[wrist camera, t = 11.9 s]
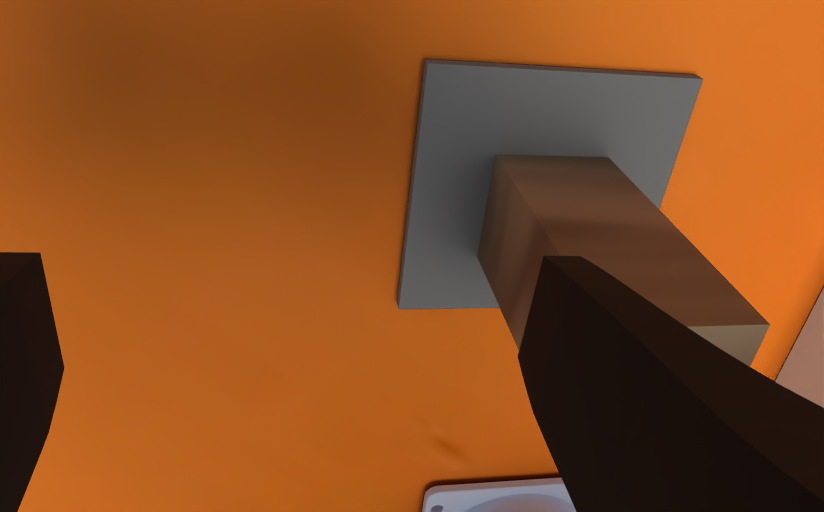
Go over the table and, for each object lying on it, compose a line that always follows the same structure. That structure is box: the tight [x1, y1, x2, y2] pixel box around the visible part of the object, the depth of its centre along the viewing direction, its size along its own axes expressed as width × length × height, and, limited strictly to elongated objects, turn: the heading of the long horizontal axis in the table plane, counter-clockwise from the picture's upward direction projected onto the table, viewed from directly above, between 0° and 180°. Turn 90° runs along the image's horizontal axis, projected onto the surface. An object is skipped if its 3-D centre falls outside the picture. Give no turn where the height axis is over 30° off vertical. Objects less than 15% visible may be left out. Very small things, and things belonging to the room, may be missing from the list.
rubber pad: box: [397, 59, 703, 309], centre depth 21 cm, size 8×8×1 cm
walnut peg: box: [477, 154, 770, 367], centre depth 17 cm, size 4×4×8 cm
